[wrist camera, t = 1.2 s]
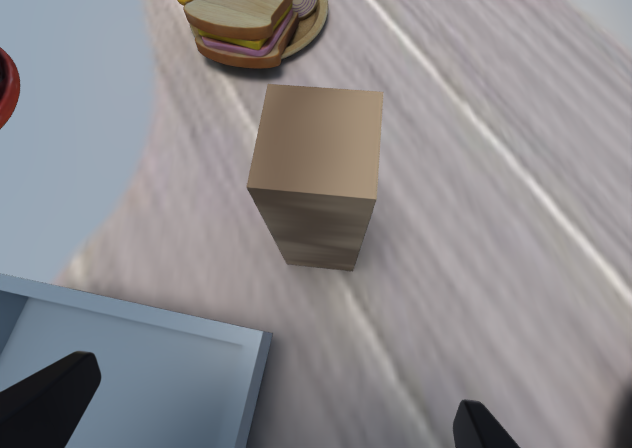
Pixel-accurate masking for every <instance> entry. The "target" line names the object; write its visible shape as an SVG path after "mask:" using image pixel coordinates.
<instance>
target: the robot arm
mask: <svg viewBox="0 0 632 448" xmlns="http://www.w3.org/2000/svg"><path fill="white" fill-rule="evenodd" d="M101 378H102V375H101V371H100V368H99V365H98V362H97V358H96V356H95V354H94V353H92V352H86V351H75V352H73V353H71V354H69V355H67V356H65V357H63V358H62V359H60V360H58V361H56V362H54V363H52V364H51V365H49V366H47V367H45V368H43V369H41V370H40V371H38V372H36V373H34V374H32V375H30V376H29V377H27V378H25V379H23V380H21V381H19V382H18V383H16V384H14V385H12V386H10V387H8V388H7V389H5V390H3V391H1V392H0V448H65V447H66V445H67V443H68V441H69V440H70V438H71V436H72V434H73V433H74V431H75V429H76V427H77V425H78V423H79V422H80V420H81V418H82V416H83V414H84V413H85V411H86V409H87V407H88V405H89V403H90V402H91V400H92V398H93V396H94V394H95V392H96V391H97V389H98V387H99V385H100V382H101ZM453 434H454V441H455V447H456V448H520V447H519V446H518V444H517V443H516V442H515V441H514V440H513V439H512V437H511V436H510V435H509V434H508V433H507V431H506V430H505V429H504V428H503V427H502V426H501V424H500V423H499V422H498V421H497V420H496V419H495V417H494V416H493V415H492V414H491V413H490V412H489V410H488V409H487V408H486V407H485V406H484V405H483V404H482V403H481V402H479V401H473V400H462V401H461V402H460V405H459V407H458V410H457V413H456V416H455V419H454V422H453Z"/></svg>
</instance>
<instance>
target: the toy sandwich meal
mask: <svg viewBox="0 0 632 448" xmlns="http://www.w3.org/2000/svg"><path fill="white" fill-rule="evenodd" d="M177 1H178V2H179V3H180V4H182V5H184V8H183V9H184V12H185V15H186V17H187V20H188V22H189V23H190V27H191V30H192V33H193V35H194V36H195V42H196V45H197V48H198V51H199V52H200V53H201V54H202V55H204V56H205V57H207V58H209V59H211V60H214V61H216V62H219V63H223V64H226V65H231V66H236V67H243V68H272V67H276V66H278V65H280V64H281V59H284V58H286V57H289V56H291V55H293V54H294V53H296V52H298V51H300V50H301V49H303V48H304V47H305V46H307V45H308V44H309V43H310V42H311V41H312V40H313V39H314V38H315V37H316V36H317V35H318V33H319V32H320V30H321V29H322V27H323V25H324V23H325V21H326V18H327V13H328V0H177Z"/></svg>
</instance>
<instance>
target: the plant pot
mask: <svg viewBox="0 0 632 448" xmlns="http://www.w3.org/2000/svg"><path fill="white" fill-rule="evenodd" d="M19 94H20V77H19V73H18V70H17V67H16V65H15V63H14V62H13V60H12V59H11V57H10V56H9V55H8V54H7V53H6V52H5V51H4V50H3V49H2V48H0V129H1V128H2V127H3V126H4V125H5V123H6V122H7V121H8V119H9V118H10V117H11V115H12V113H13V112H14V109H15V107H16V105H17V102H18V98H19Z"/></svg>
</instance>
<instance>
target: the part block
mask: <svg viewBox="0 0 632 448" xmlns="http://www.w3.org/2000/svg"><path fill="white" fill-rule="evenodd" d="M382 105H383V92H376V91H362V90H348V89H333V88H319V87H304V86H290V85H276V84H268V86H267V91H266V95H265V100H264V105H263V110H262V115H261V120H260V125H259V129H258V134H257V139H256V144H255V149H254V154H253V159H252V163H251V168H250V173H249V178H248V183H247V189H248V191H249V193H250V195H251V197H252V198H253V200H254V202H255V204H256V206H257V208H258V210H259V212H260V214H261V216H262V218H263V219H264V221H265V223H266V225H267V227H268V229H269V231H270V233H271V235H272V237H273V238H274V240H275V242H276V244H277V246H278V248H279V250H280V252H281V254H282V256H283V257H284V259H285V261H286V263H287V264H291V265H300V266H309V267H318V268H327V269H337V270H346V271H353V269H354V266H355V263H356V260H357V257H358V254H359V251H360V248H361V245H362V242H363V239H364V236H365V233H366V230H367V227H368V224H369V221H370V218H371V214H372V211H373V208H374V205H375V202H376V199H377V184H378V168H379V153H380V137H381V121H382Z"/></svg>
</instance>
